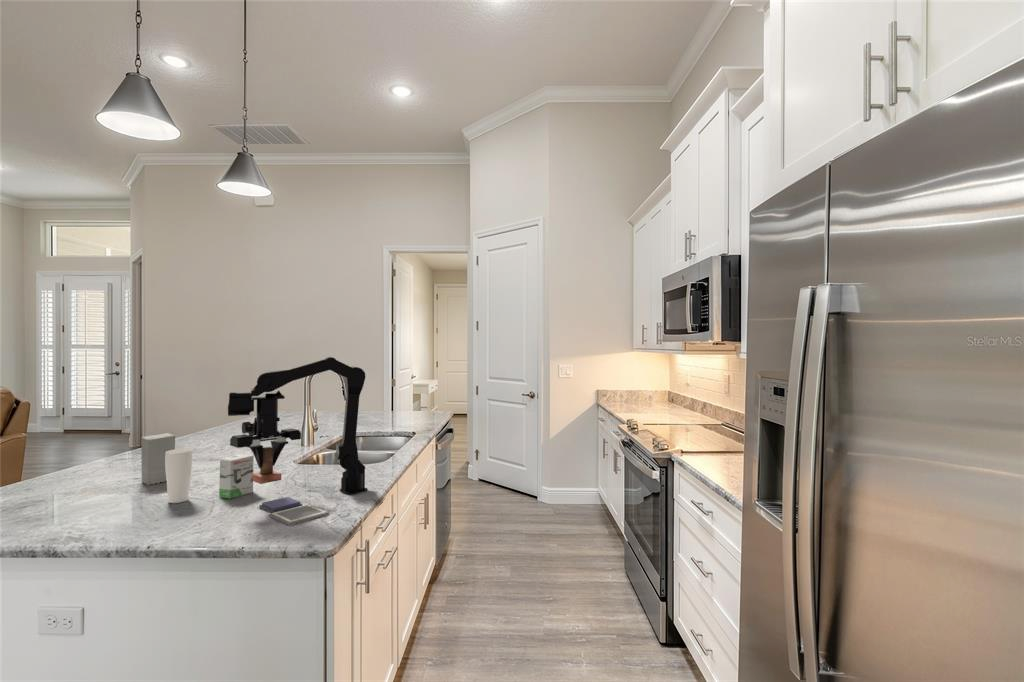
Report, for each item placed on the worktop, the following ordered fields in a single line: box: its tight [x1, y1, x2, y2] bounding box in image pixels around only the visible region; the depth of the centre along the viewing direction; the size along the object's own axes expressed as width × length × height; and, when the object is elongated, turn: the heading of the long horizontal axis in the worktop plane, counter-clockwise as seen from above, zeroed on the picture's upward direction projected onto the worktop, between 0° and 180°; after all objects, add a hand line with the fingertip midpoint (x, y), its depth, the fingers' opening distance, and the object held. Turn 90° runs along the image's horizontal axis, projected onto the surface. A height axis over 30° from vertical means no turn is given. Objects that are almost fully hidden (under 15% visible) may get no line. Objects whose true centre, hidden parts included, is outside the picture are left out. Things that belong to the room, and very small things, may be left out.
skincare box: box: [140, 432, 176, 486], centre depth 173 cm, size 8×7×16 cm
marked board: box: [268, 503, 330, 526], centre depth 139 cm, size 11×11×1 cm
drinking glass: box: [165, 448, 193, 504], centre depth 151 cm, size 7×7×15 cm
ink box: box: [218, 453, 255, 500], centre depth 158 cm, size 9×5×12 cm, turn 159°
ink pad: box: [259, 496, 303, 514], centre depth 145 cm, size 8×8×2 cm
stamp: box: [252, 446, 282, 485], centre depth 151 cm, size 6×6×10 cm
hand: (266, 466), depth 151 cm, fingers closed on stamp, 3 cm apart
